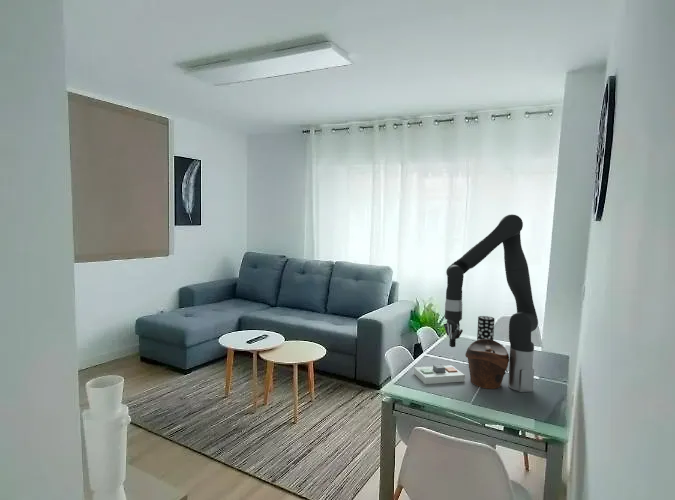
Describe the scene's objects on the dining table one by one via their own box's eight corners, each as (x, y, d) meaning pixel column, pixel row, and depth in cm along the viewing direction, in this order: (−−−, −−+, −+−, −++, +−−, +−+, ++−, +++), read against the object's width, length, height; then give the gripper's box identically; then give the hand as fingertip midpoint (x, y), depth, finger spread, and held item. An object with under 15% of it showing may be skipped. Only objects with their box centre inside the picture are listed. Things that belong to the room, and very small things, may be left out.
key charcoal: (445, 372, 177) (445, 367, 177) (436, 372, 176) (437, 368, 176) (440, 368, 181) (441, 364, 181) (432, 369, 180) (433, 365, 180)
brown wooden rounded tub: (482, 394, 161) (485, 351, 160) (455, 376, 181) (457, 338, 180) (518, 391, 166) (521, 350, 165) (488, 374, 185) (491, 336, 184)
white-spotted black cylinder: (476, 355, 211) (478, 318, 210) (475, 350, 219) (477, 315, 218) (493, 357, 209) (495, 320, 207) (491, 352, 217) (493, 316, 215)
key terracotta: (457, 374, 178) (457, 370, 178) (448, 375, 178) (449, 370, 177) (452, 371, 182) (452, 367, 182) (444, 371, 181) (444, 367, 181)
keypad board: (464, 381, 175) (464, 374, 175) (425, 384, 171) (425, 377, 171) (451, 371, 187) (451, 365, 186) (413, 373, 182) (414, 367, 182)
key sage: (432, 376, 176) (432, 371, 176) (424, 376, 175) (424, 372, 175) (428, 372, 180) (428, 368, 180) (420, 373, 179) (420, 369, 179)
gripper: (469, 311, 172) (467, 350, 173) (453, 305, 185) (452, 342, 186) (453, 312, 170) (452, 351, 171) (439, 306, 183) (437, 342, 184)
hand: (452, 346), depth 179 cm, fingers closed
